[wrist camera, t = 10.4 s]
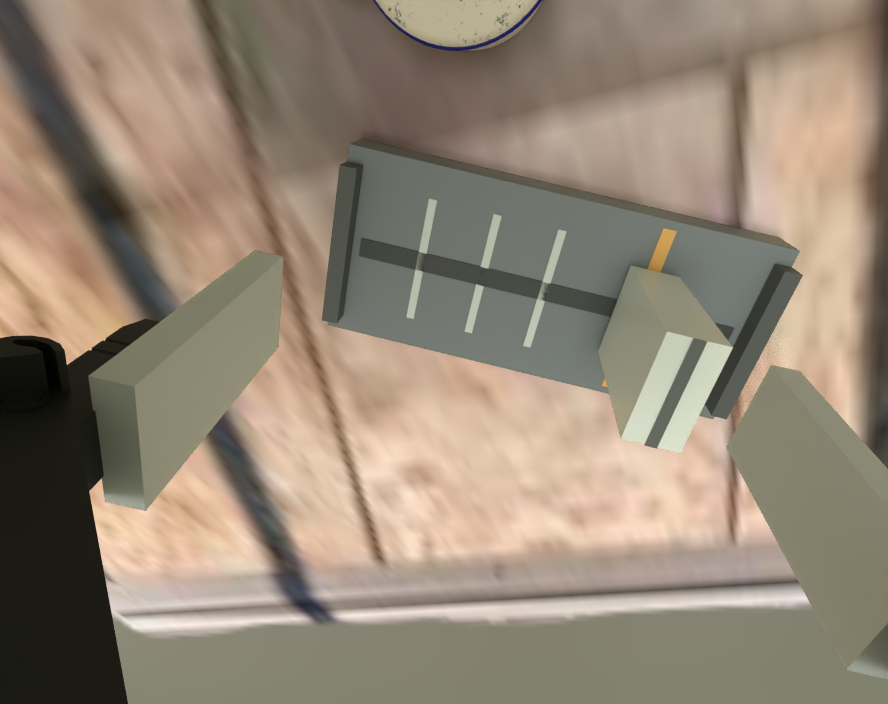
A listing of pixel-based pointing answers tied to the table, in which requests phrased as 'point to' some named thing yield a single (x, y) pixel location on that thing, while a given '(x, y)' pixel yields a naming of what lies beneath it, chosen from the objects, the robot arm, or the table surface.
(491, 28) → the teacup with lid
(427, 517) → the table surface
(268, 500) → the table surface
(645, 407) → the fader handle
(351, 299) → the fader console
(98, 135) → the table surface
